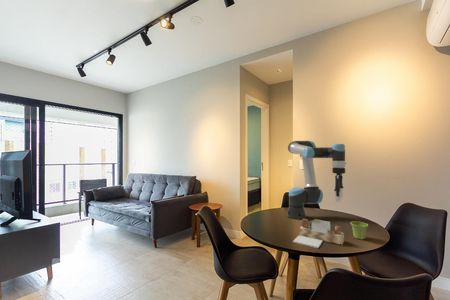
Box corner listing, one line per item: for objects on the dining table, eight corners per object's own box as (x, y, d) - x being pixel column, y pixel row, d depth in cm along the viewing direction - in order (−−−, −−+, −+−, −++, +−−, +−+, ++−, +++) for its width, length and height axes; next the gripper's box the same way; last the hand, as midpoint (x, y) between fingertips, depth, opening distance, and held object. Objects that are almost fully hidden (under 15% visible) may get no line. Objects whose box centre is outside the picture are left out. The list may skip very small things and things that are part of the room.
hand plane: (299, 235, 139) (299, 219, 139) (302, 232, 144) (302, 217, 144) (342, 244, 125) (342, 227, 125) (343, 241, 130) (343, 224, 130)
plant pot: (347, 235, 140) (347, 221, 140) (361, 234, 141) (361, 221, 141) (357, 241, 130) (357, 226, 131) (372, 240, 131) (372, 225, 131)
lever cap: (311, 230, 134) (311, 221, 134) (314, 227, 140) (314, 217, 141) (327, 233, 129) (327, 223, 129) (330, 229, 135) (330, 220, 135)
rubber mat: (292, 242, 129) (292, 241, 129) (298, 236, 138) (298, 235, 138) (318, 248, 120) (318, 247, 120) (322, 241, 129) (322, 240, 129)
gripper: (343, 168, 132) (343, 203, 131) (346, 166, 153) (347, 197, 152) (329, 168, 136) (330, 202, 136) (334, 166, 157) (335, 195, 156)
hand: (339, 199), depth 144 cm, fingers open, 13 cm apart
